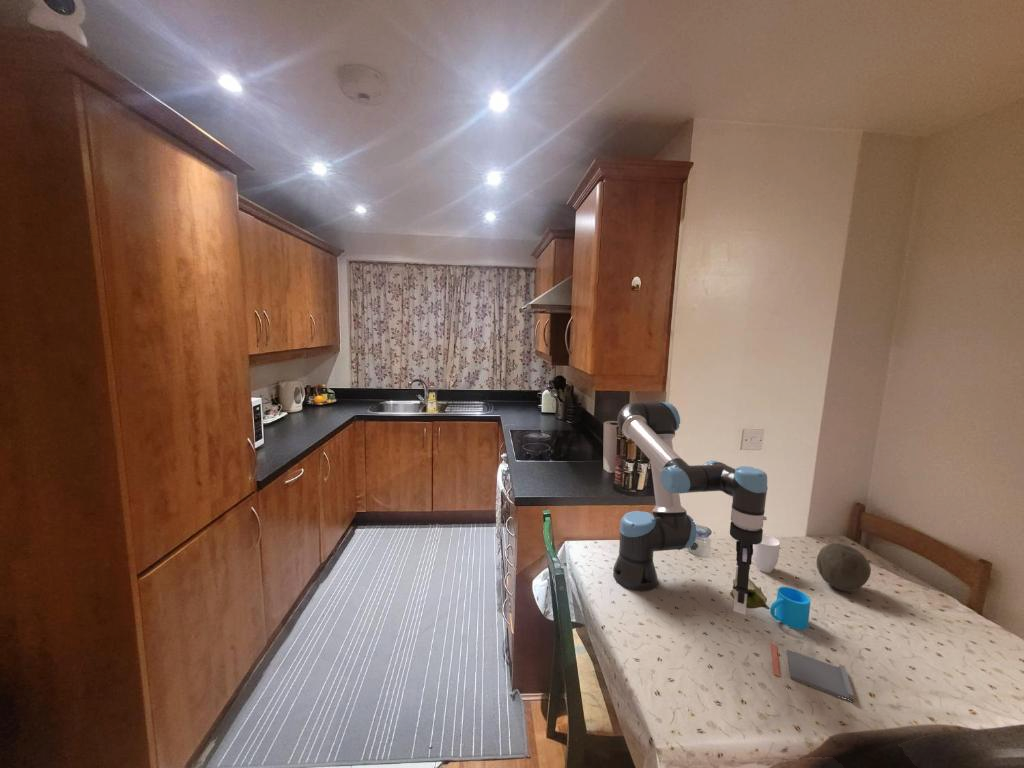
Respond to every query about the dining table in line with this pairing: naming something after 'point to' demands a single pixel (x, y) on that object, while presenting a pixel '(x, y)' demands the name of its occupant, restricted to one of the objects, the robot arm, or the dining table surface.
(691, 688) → the dining table surface
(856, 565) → the dark grey round stone
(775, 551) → the mug
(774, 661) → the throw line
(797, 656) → the mat
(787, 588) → the mug
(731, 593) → the fruit
